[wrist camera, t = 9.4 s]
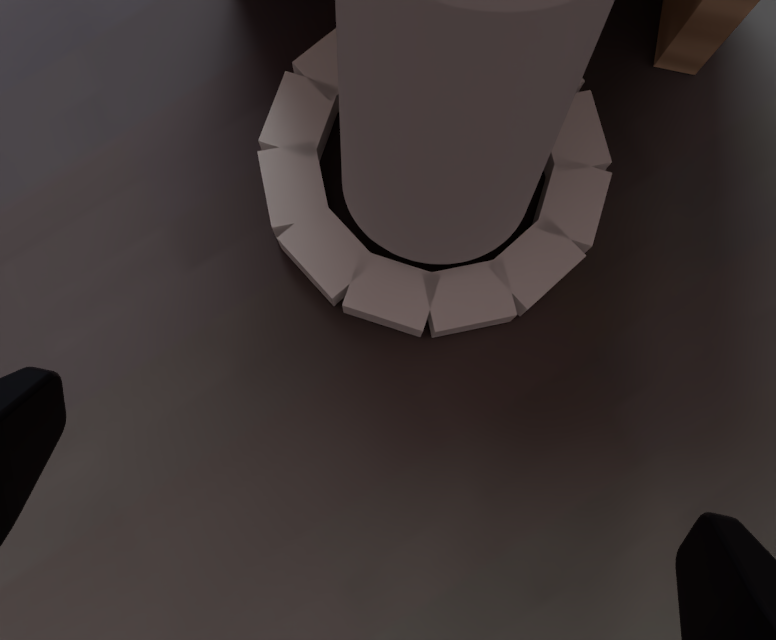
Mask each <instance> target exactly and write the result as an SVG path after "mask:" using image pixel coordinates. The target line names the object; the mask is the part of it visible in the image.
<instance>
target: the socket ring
mask: <svg viewBox="0 0 776 640" xmlns="http://www.w3.org/2000/svg"><path fill="white" fill-rule="evenodd" d="M292 65H293V71H294V73H291V72H288V71H285V73H284V76H283V78H282V81H281V83H280V86H279V89H278V91H277V94H276V96H275V99H274V101H273V104H272V106H271V109H270V112H269V114H268V117H267V119H266V122H265V124H264V127H263V130H262V132H261V135H260V137H259V140H258V142H259V144H260V147H261V150H262V151H257V153H258V159H259V164H260V169H261V174H262V180H263V185H264V190H265V195H266V200H267V206H268V211H269V216H270V221H271V227H272V230H273V232H274V234H275V237H276V239H278V242H279V244H280V247H281V249H282V250H283V251H284V252H285V253H286V254H287V255H288V256H289V258H290V259H291V260H292V261H293V262H294V263H295V264H296V265H297V266H298V268H299V269H300V270H301V271H302V272H303V273H304V274H305V275H306V276H307V277H308V279H309V280H310V281H311V282H312V283H313V284H314V285H315V286H316V287H317V288H318V290H319V291H320V292H321V293H322V294H323V295H324V296H325V297H326V298H327V300H328V301H329V302H330V303H331V304H332V305H333V306H335V305H336V304H337V303H338V302H339V301H341V300H342V299H343V298H344V297H345V298H344V301H343V304H342V307H343V313H346V314H349V315H352V316H355V317H359V318H362V319H365V320H368V321H371V322H374V323H377V324H380V325H383V326H386V327H390V328H393V329H396V330H399V331H402V332H405V333H408V334H411V335H414V336H417V337H421V335H422V333H423V330H424V327H425V324H426V321H427V319H428V324H429V328H430V332H431V337H432V338H434V337H439V336H444V335H449V334H454V333H458V332H463V331H468V330H473V329H478V328H482V327H487V326H492V325H497V324H502V323H506V322H510V321H511V320H512V319H513V318H515V317H516V316H517V314H518V315H519V316H521V315H522V314H523V313H525V312H526V311H527V310H528V309H529V308H530V307H531V306H532V305H533V304H535V303H536V302H537V301H538V300H539V299H540V298H541V297H542V296H543V295H544V294H545V293H547V292H548V291H549V290H550V289H551V288H552V287H553V286H554V285H555V284H556V283H557V282H558V281H560V280H561V279H562V278H563V277H564V276H565V275H566V274H567V273H568V272H569V271H570V270H572V269H573V268H574V267H575V266H576V265H577V264H578V263H579V262H580V261H581V260H582V259H584V258H585V257H586V255H585V254H584V253H585V252H587V251H588V250H589V249H590V248H591V247H592V246H593V242H594V238H595V235H596V231H597V227H598V224H599V220H600V216H601V213H602V209H603V205H604V202H605V198H606V194H607V190H608V187H609V183H610V179H611V176H612V173H611V172H608V171H605V170H606V169H607V167H608V166H609V165H610V164H611V163H612V160H611V157H610V153H609V150H608V146H607V143H606V140H605V136H604V133H603V129H602V126H601V123H600V119H599V116H598V113H597V109H596V106H595V102H594V99H593V96H592V92H591V90H588V91H582V92H579V90H580V89H581V87H582V85H583V84H584V82H585V80H584V79H583V78H582V79H581V82H580V84H579V87H578V89H577V91H576V94H575V96H574V98H573V101H572V103H571V106H570V108H569V110H568V113H567V115H566V118H565V120H564V122H563V125H562V127H561V129H560V132H559V134H558V137H557V139H556V141H555V144H554V146H553V149H552V151H551V153H550V156H549V158H548V160H547V163H546V165H545V168H544V174H545V177H546V178H545V182H544V185H543V188H542V192H541V195H540V199H539V202H538V206H537V209H536V212H535V216H534V219H533V223H532V226H531V227H530V228H529V229H527V230H526V231H525V232H524V233H523V234H522V235H521V236H520V237H518V238H517V239H516V240H515V241H514V242H513V243H512V244H511V245H510V246H508V247H507V248H506V249H505V250H504V251H503V252H502V253H501V254H499V255H498V256H497V257H496V258H495V259H494V260H490V261H485V262H480V263H475V264H470V265H465V266H460V267H455V268H450V269H446V270H441V271H436V272H429V271H426V270H423V269H420V268H416V267H413V266H410V265H407V264H404V263H401V262H398V261H395V260H391V259H388V258H385V257H382V256H379V255H376V254H373V253H370V252H369V251H368V250H367V249H366V247H365V246H364V245H363V244H362V243H361V242H360V241H359V240H358V239H357V238H356V237H355V236H354V234H353V233H352V232H351V231H350V230H349V229H348V228H347V227H346V226H345V225H344V224H343V223H342V222H341V220H340V219H339V218H338V217H337V216H336V215H335V214H334V213H333V212H332V211H331V210H330V209H329V208H328V203H327V199H326V194H325V189H324V184H323V179H322V175H321V170H320V165H319V162H320V159H321V157H322V154H323V151H324V149H325V146H326V143H327V140H328V138H329V135H330V132H331V129H332V127H333V124H334V121H335V119H336V116H337V113H338V112H339V89H338V62H337V36H336V28H335V29H334V30H333V31H331V32H330V33H329V34H327V35H326V36H325V37H324V38H322V39H321V40H320V41H318V42H317V43H316V44H315V45H313V46H312V47H311V48H310V49H308V50H307V51H306V52H304V53H303V54H302V55H301V56H299V57H298V58H297V59H295V60H294V61H293V62H292Z"/></svg>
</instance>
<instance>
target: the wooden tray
mask: <svg viewBox="0 0 776 640" xmlns="http://www.w3.org/2000/svg"><path fill="white" fill-rule="evenodd" d="M759 1H760V0H663V3H662V10H661V17H660V24H659V31H658V38H657V45H656V52H655V59H654V66H653V67H658V68H663V69H667V70H672V71H677V72H682V73H687V74H692V75H695V74H696V73H697V72H698V71H699V70H700V69H701V67H702V66H703V65H704V64H705V63H706V62H707V60H708V59H709V58H710V57H711V56H712V55H713V54H714V52H715V51H716V50H717V49H718V48H719V47H720V46H721V44H722V43H723V42H724V41H725V40H726V39H727V38H728V36H729V35H730V34H731V33H732V32H733V31H734V30H735V28H736V27H737V26H738V25H739V24H740V23H741V22H742V20H743V19H744V18H745V17H746V16H747V15H748V14H749V12H750V11H751V10H752V9H753V8H754V7H755V6H756V4H757V3H758V2H759Z"/></svg>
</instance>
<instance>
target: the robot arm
mask: <svg viewBox="0 0 776 640" xmlns="http://www.w3.org/2000/svg"><path fill="white" fill-rule="evenodd" d="M65 423H66V409H65V402H64V394H63V387H62V380H61V377H60V376H59V374H58V373H56V372H54V371H50V370H45V369H41V368H36V367H25V368H23V369H20V370H18V371H15V372H13V373H11V374H9V375H6V376H4V377H2V378H0V546H1V545H2V543H3V542H4V540H5V538H6V537H7V535H8V534H9V532H10V531H11V529H12V527H13V526H14V524H15V522H16V520H17V518H18V517H19V515H20V513H21V511H22V509H23V507H24V505H25V504H26V502H27V500H28V498H29V496H30V494H31V492H32V490H33V488H34V486H35V484H36V483H37V481H38V479H39V477H40V475H41V473H42V471H43V469H44V467H45V465H46V463H47V462H48V460H49V458H50V456H51V454H52V452H53V450H54V448H55V446H56V444H57V442H58V441H59V439H60V437H61V435H62V433H63V430H64V427H65ZM676 578H677V589H678V601H679V613H680V625H681V637H682V640H776V559H775V558H774V557H773V556H772V555H771V554H770V553H769V552H768V551H767V550H766V549H765V548H764V547H763V546H762V545H761V543H760V542H759V541H758V540H757V539H756V538H755V537H754V536H753V535H752V534H751V533H750V532H749V531H748V530H747V529H746V528H745V527H744V526H743V524H742V523H740V522H739V521H738V520H737V519H735V518H733V517H730V516H725V515H720V514H716V513H711V512H706V513H704V514H702V515H700V517H699V518H698V519H697V521H696V522H695V524H694V525H693V527H692V528H691V530H690V532H689V533H688V535H687V536H686V538H685V539H684V541H683V542H682V544H681V545H680V547H679V549H678V552H677V555H676Z"/></svg>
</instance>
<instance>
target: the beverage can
mask: <svg viewBox="0 0 776 640" xmlns="http://www.w3.org/2000/svg"><path fill="white" fill-rule="evenodd" d="M614 1H615V0H335V9H336V36H337V62H338V89H339V116H340V142H341V169H342V188H343V193H344V198H345V201H346V204H347V207H348V209H349V212H350V214H351V215H352V217H353V219H354V220H355V222H356V223H357V225H358V226H359V227H360V228H361V230H362V231H363V232H364V233H365V234H366V235H367V236H368V237H369V238H370V239H371V240H373V241H374V242H375V243H377V244H378V245H380V246H381V247H383V248H385V249H386V250H388V251H390V252H391V253H393V254H395V255H397V256H400V257H403V258H406V259H409V260H412V261H416V262H421V263H427V264H454V263H461V262H465V261H469V260H472V259H475V258H478V257H481V256H483V255H485V254H487V253H489V252H491V251H492V250H494V249H496V248H497V247H498V246H500V245H501V244H502V243H504V242H505V241H506V240H507V239H508V238H509V237H510V236H511V235H512V234H513V233H514V231H515V230H516V229H517V227H518V226H519V224H520V223H521V221H522V219H523V217H524V215H525V213H526V210H527V208H528V206H529V203H530V201H531V199H532V196H533V194H534V191H535V189H536V187H537V184H538V182H539V179H540V177H541V175H542V172H543V170H544V168H545V165H546V163H547V160H548V158H549V156H550V153H551V151H552V149H553V146H554V144H555V141H556V139H557V137H558V134H559V132H560V129H561V127H562V125H563V122H564V120H565V118H566V115H567V113H568V110H569V108H570V106H571V103H572V101H573V98H574V96H575V94H576V91H577V89H578V87H579V84H580V82H581V79H582V77H583V75H584V72H585V70H586V67H587V65H588V63H589V60H590V58H591V56H592V53H593V51H594V48H595V46H596V44H597V41H598V39H599V37H600V34H601V32H602V29H603V27H604V25H605V22H606V20H607V17H608V15H609V13H610V10H611V8H612V6H613V3H614Z"/></svg>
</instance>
